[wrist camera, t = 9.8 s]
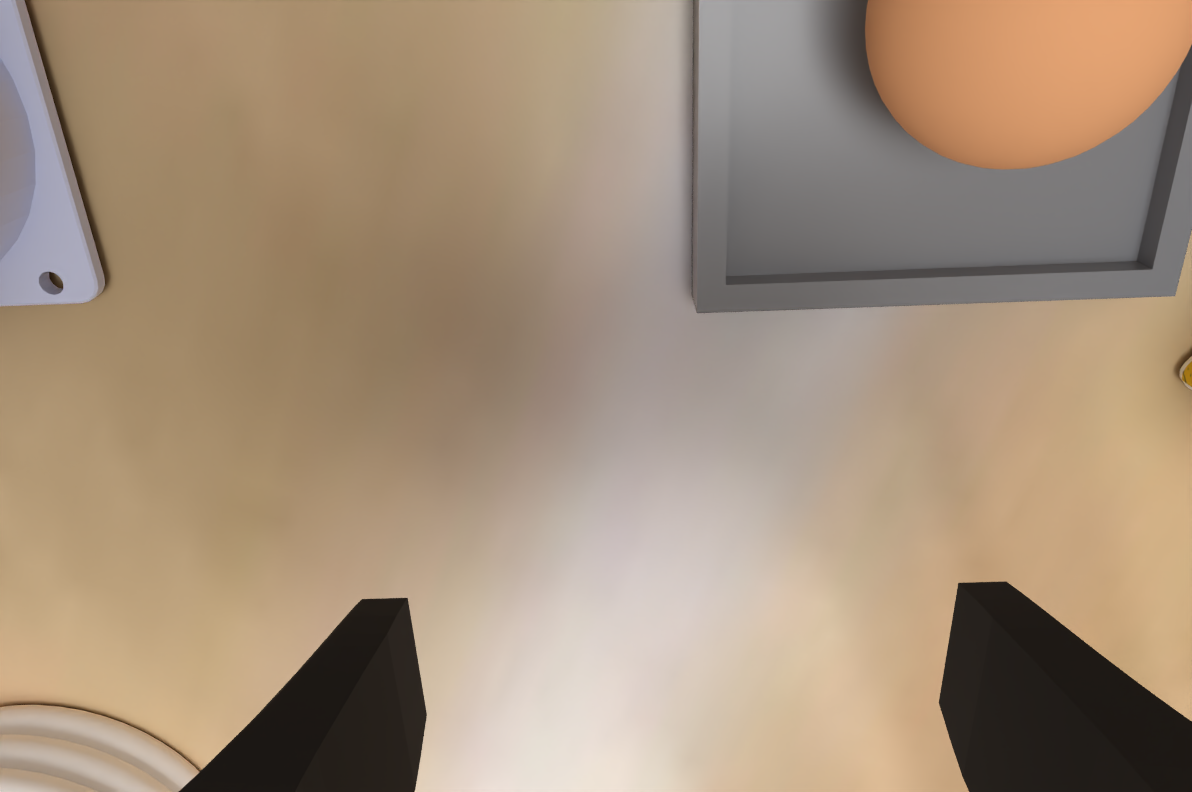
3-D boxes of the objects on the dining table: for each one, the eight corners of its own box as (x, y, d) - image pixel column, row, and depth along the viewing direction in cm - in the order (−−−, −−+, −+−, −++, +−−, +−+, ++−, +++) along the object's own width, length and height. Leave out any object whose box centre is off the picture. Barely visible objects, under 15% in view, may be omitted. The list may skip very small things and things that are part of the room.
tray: (692, 294, 20) (696, 313, 19) (694, -315, 15) (701, -336, 14) (1143, 278, 20) (1175, 295, 19) (1288, -346, 15) (1341, -371, 14)
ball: (828, 157, 18) (926, 218, 13) (827, -128, 16) (944, -169, 11) (1072, 126, 18) (1252, 177, 14) (1105, -162, 16) (1332, -217, 11)
